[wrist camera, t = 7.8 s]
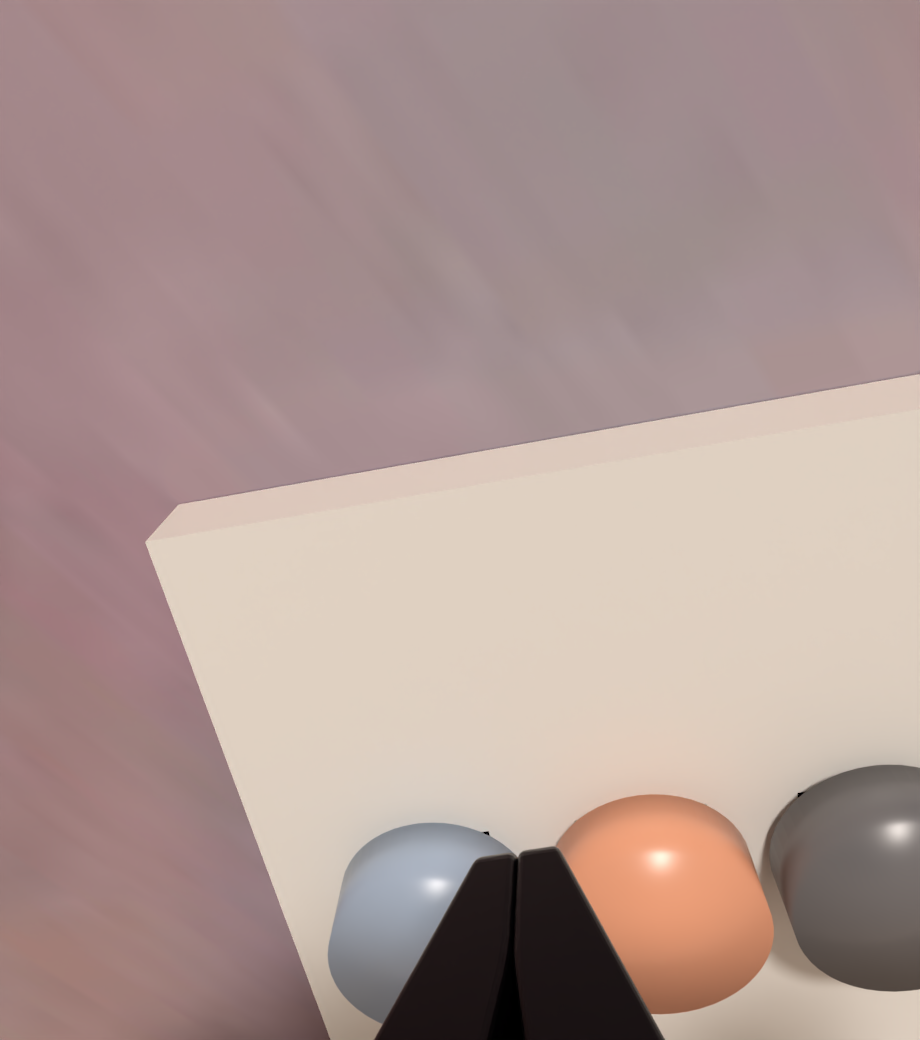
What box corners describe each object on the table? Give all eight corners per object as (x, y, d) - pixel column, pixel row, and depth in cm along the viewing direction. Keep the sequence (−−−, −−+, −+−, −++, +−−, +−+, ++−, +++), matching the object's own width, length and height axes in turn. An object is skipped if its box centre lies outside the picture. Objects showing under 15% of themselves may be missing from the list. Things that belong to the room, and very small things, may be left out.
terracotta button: (724, 731, 21) (766, 842, 18) (739, 877, 23) (780, 1003, 19) (532, 756, 21) (537, 869, 18) (561, 897, 23) (571, 1023, 20)
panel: (1026, 355, 18) (1088, 380, 16) (994, 1037, 25) (1032, 1107, 23) (178, 504, 20) (145, 542, 18) (384, 1091, 27) (375, 1160, 26)
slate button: (515, 759, 21) (517, 872, 18) (546, 899, 23) (553, 1026, 20) (333, 783, 22) (303, 897, 19) (377, 918, 24) (356, 1044, 20)
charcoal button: (946, 701, 20) (1032, 811, 17) (943, 853, 22) (1021, 979, 19) (741, 728, 21) (786, 839, 17) (755, 874, 23) (798, 1001, 19)
